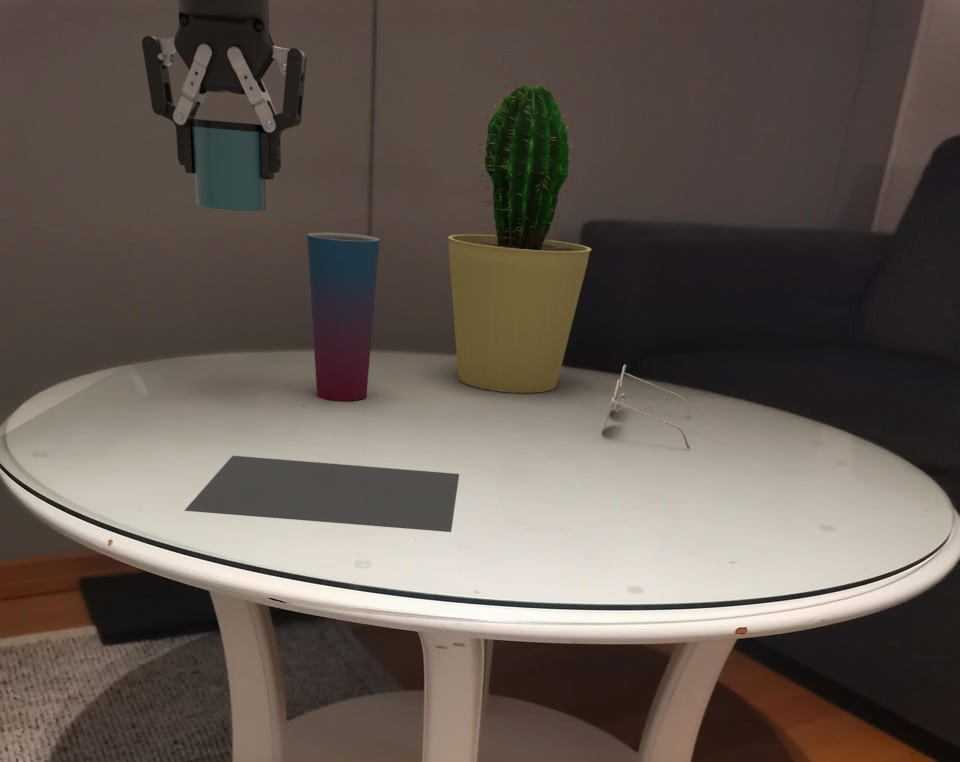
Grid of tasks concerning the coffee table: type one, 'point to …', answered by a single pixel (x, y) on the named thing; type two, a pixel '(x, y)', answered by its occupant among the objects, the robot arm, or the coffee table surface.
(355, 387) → the cup
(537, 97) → the potted cactus
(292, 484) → the cloth
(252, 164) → the pot
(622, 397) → the sunglasses
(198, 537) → the coffee table surface
